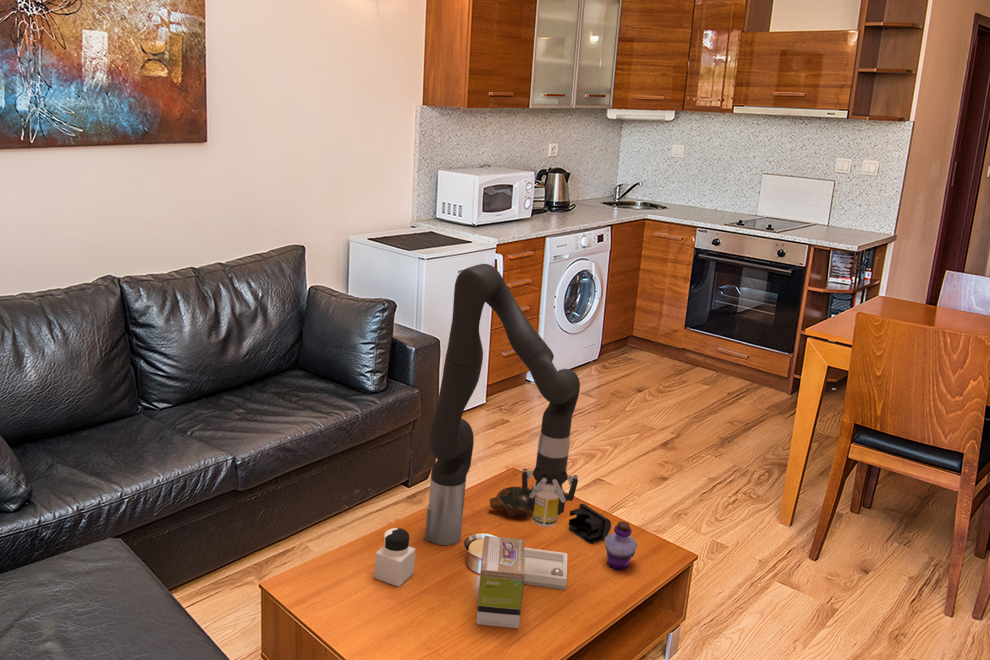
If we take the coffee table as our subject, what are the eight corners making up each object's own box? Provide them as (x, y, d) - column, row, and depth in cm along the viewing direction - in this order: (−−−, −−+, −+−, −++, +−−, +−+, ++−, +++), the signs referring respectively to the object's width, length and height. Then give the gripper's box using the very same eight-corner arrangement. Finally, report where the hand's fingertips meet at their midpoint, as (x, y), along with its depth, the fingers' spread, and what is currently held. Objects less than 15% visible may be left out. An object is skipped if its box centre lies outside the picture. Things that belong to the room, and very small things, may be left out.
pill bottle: (557, 517, 211) (562, 477, 208) (556, 529, 205) (561, 488, 202) (532, 513, 211) (537, 474, 208) (531, 525, 205) (535, 485, 202)
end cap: (609, 538, 232) (613, 516, 230) (591, 545, 228) (594, 523, 226) (584, 522, 239) (587, 501, 237) (566, 528, 235) (569, 507, 233)
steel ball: (549, 581, 207) (551, 571, 206) (550, 575, 210) (551, 564, 209) (561, 583, 207) (563, 572, 206) (562, 576, 210) (563, 566, 209)
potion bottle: (640, 569, 218) (647, 528, 215) (615, 576, 214) (621, 535, 210) (619, 552, 225) (626, 512, 222) (594, 559, 221) (600, 519, 217)
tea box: (478, 587, 204) (484, 533, 200) (519, 591, 204) (526, 537, 199) (475, 625, 189) (481, 568, 185) (519, 630, 189) (526, 573, 185)
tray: (508, 582, 207) (510, 571, 206) (512, 556, 218) (513, 546, 218) (565, 589, 206) (566, 579, 205) (565, 563, 218) (567, 553, 217)
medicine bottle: (414, 573, 207) (417, 530, 203) (398, 587, 200) (402, 543, 197) (389, 564, 209) (392, 521, 206) (373, 578, 203) (376, 534, 200)
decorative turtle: (545, 520, 238) (547, 496, 235) (493, 525, 235) (494, 500, 232) (536, 502, 247) (538, 478, 244) (486, 506, 244) (487, 482, 241)
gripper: (522, 452, 199) (515, 515, 204) (583, 460, 199) (574, 523, 203) (524, 440, 207) (517, 501, 211) (582, 447, 206) (574, 508, 211)
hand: (545, 511), depth 207 cm, fingers closed on pill bottle, 6 cm apart
